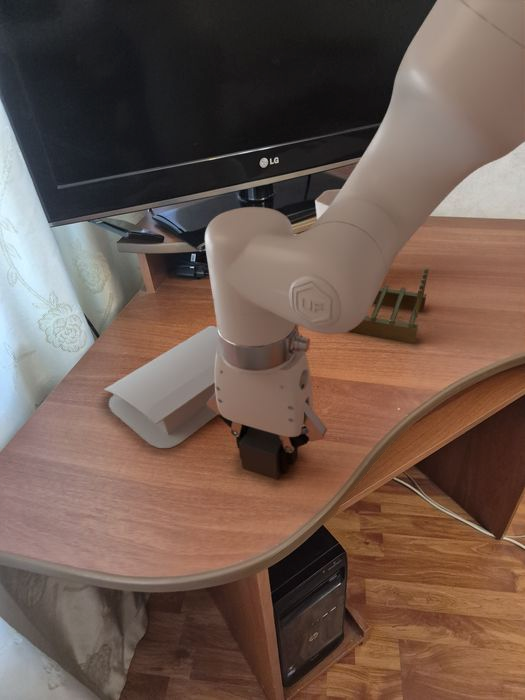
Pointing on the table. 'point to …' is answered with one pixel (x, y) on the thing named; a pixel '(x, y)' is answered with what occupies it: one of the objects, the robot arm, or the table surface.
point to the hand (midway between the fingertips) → (267, 456)
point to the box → (261, 452)
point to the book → (170, 392)
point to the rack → (395, 314)
